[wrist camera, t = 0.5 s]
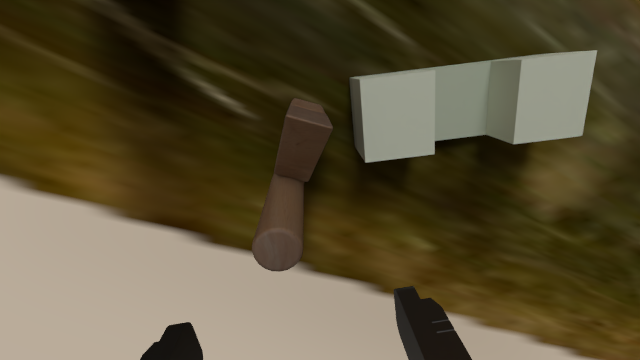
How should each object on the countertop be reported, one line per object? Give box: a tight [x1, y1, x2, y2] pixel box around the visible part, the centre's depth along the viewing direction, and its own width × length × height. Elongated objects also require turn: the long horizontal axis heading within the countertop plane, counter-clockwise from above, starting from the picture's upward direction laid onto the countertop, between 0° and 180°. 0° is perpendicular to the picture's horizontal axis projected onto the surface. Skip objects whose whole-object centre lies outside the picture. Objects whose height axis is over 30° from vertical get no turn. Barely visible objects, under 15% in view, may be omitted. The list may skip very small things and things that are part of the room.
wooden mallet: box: [252, 98, 333, 271], centre depth 29 cm, size 4×11×18 cm, turn 164°
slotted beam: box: [349, 50, 597, 163], centre depth 33 cm, size 8×22×7 cm, turn 96°
